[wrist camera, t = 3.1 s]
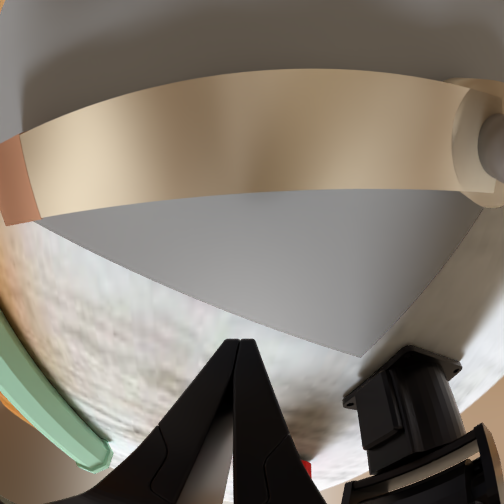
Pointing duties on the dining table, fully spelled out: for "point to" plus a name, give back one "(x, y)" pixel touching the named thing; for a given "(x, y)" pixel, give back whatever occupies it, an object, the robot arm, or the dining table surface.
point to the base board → (261, 203)
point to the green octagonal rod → (47, 405)
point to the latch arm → (261, 141)
